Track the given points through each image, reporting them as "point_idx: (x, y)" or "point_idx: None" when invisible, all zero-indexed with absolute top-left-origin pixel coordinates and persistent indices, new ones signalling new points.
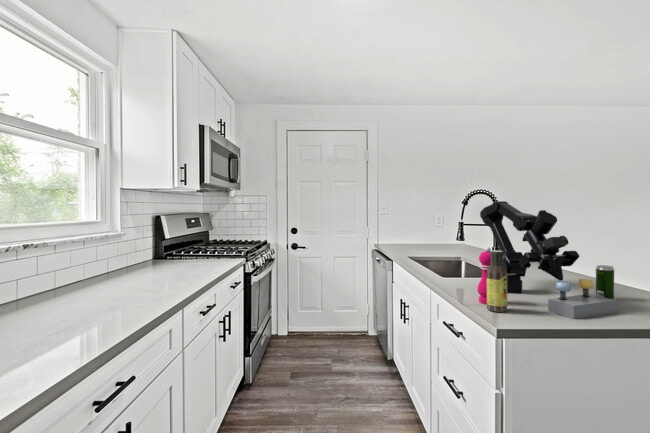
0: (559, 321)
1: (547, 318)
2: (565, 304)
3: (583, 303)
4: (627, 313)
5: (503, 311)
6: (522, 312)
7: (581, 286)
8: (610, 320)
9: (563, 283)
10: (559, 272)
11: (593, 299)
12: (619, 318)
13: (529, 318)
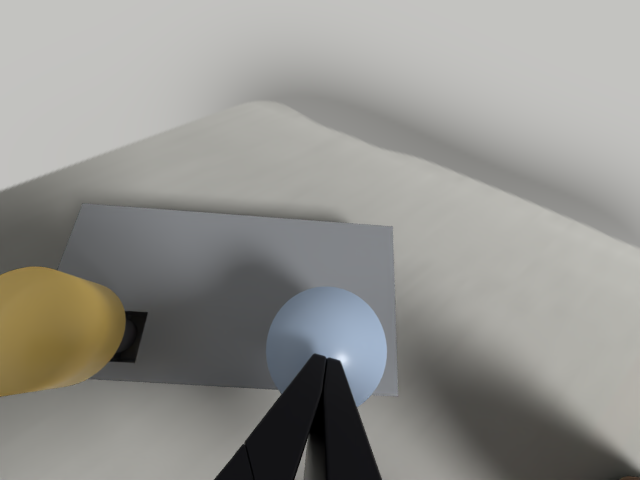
0: (456, 250)
1: (473, 299)
2: (392, 272)
3: (303, 234)
4: None
5: (631, 477)
6: (521, 429)
7: (115, 332)
8: (265, 180)
9: (361, 312)
10: (311, 424)
11: (166, 263)
12: (207, 180)
13: (549, 333)
